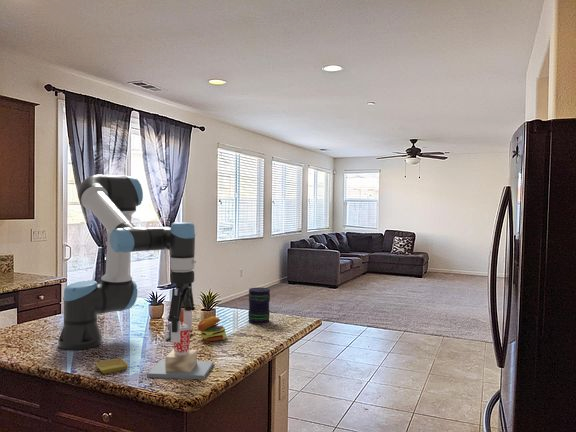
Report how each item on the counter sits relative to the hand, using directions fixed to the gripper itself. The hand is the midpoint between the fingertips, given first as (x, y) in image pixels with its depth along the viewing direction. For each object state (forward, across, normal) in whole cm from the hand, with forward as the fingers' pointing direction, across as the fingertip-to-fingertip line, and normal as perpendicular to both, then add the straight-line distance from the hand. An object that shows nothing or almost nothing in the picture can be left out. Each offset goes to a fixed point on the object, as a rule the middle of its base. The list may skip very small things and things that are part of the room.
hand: (181, 335), depth 151 cm
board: (+11, 0, 0) cm, 11 cm away
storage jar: (+12, +66, -17) cm, 69 cm away
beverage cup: (+6, 0, 0) cm, 6 cm away
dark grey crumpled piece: (+12, +38, +13) cm, 42 cm away
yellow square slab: (+12, 0, +23) cm, 26 cm away
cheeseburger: (+12, +36, -2) cm, 38 cm away
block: (+10, 0, 0) cm, 10 cm away
